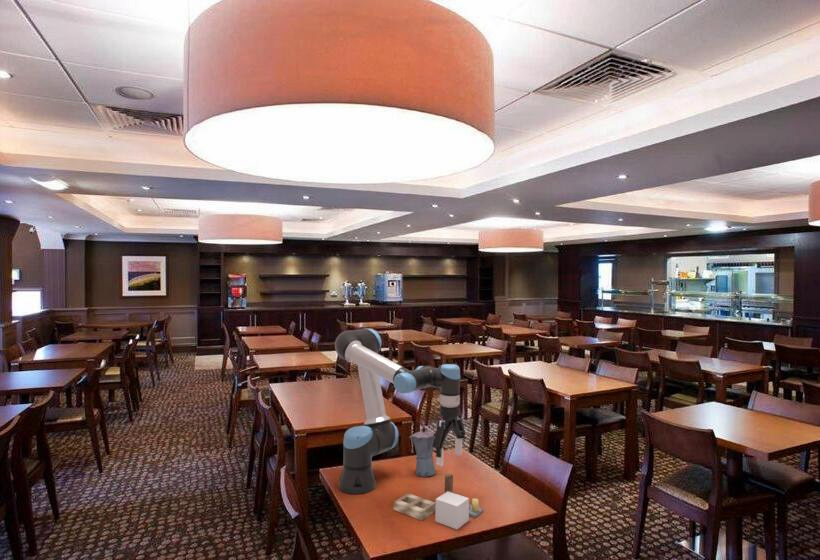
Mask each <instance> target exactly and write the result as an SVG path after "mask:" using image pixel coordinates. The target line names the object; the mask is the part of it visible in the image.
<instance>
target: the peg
mask: <svg viewBox="0 0 820 560" xmlns="http://www.w3.org/2000/svg"><path fill="white" fill-rule="evenodd" d="M447 491H449V492H452V493H454V475H453V474H451V473H446V474H445V475H444V493H446V492H447Z"/></svg>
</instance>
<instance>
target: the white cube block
mask: <svg viewBox="0 0 820 560" xmlns="http://www.w3.org/2000/svg"><path fill="white" fill-rule="evenodd" d="M435 503H436V512H435V521H434V522H436V523H438V524H441V525H445V526H447V527H449V528H452V529H454V530H459V529H460V528H461V527H462V526H464V525H465V524H466V523H467V522H469V521H470V519H469V518H470V516H469V504H470V497H467V496H464V495H461V494H457V493H455V492H453V493H452V492H449V491H447V492H446V493H445V492H444V493H442V494H441V495H439V496H438V497H437V498H435Z"/></svg>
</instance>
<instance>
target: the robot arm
mask: <svg viewBox="0 0 820 560" xmlns="http://www.w3.org/2000/svg"><path fill="white" fill-rule="evenodd" d="M382 343H383V342H382V338H381V336H380V334H379V333H378V332H377V331H376V330H375V329H372V328H359V329H352V330H350V329H349V330H345V331H342V332H341V333H340V334H338V336H337V337H336V338H335V342H334V348H335V351H336V353H337V355H338V356H339V357H340V358H342V359H343V360H345V362H348V363H355V364H356V365H357V370H358V376H359V381H360V389H361V393H362V399H363V405H364V409H365V417H366V420H365V421H364V423H363V425H359V426H357V425H356V426H353V427H350V428H348V429H346V431H345V433H344V434H343V435H344V436H343V443H342V444H343V452H342V453H343V455H342V456H343V464H342V465H343V467H342V471H341V474H340V478H339V480H338V489H339V491H341V492H343V493H346V494H351V495H361V494H366V493H369V492H371V491H373V490H375V488H376V477H375V476H374V472H373V467H372V465H373V464H372V459H373V457H374V456H377V455H379V454H382V453H385V452H389V451H390V450H392V449H393V448H395V447H396V445H397V443H398V442H399V430H398V427H397V426H396V425H395V423H394V422H393V421H391V420H392V419H391V417H390V416H389V415H387V414H386V407H385V402H384V396H383V390H382V386H381V380H380V378H382V379H384V380H386V381H388V382H389V383H392V384H393V387H394V389H395V390H396V392H397V393H399V394H409V393H412V392H416V391H418V390H422V389H426V388H431V387H432V388H435V389H439V390H440V391H439V392H440V394H439V395H440V396H439V397H440V399H439V403H440V408H439V409H440V410H439V411H440V413H439V414H440V416H441V417H442V420H437V424H436V425H437V427H436V430H435V432H436V434H435V437H434V441H433V445H432V447H433V449H434V448H435V451H436V453H435V454H436V455H435V461H436V462H435V463H436V466H440V467H443V466H444V448H443V446H444V444H445V441H446V438H447V436H448V433H450V432H451V430H452V431H453V433H454V435H455V436H456V437H455V438H454V439H455V440H454V443H455V444H454V454H455V455H456V456H460V457H461V456H463V440H464V439H465V438H466V430H465V427H464V424H463V423H464V422H463V420H462V419H463V418H462V414H461V410H460V407H461V406H460V403H461V402H460V401H461V397H460V396H461V395H460V394H461V392H460V391H461V390H460V388H461V386H460V385H461V371H460V367H459V365H458V364H450V363H446V364H445V363H444V364H442V365H440V368H438V367H432V366H427V365H425V366H424V365H419V366H417V367H416V368H415V369H414V370H411V369H410V370H409V369H408V368H405V367H404V366H402V365H401V364H398V363H396V362H395V361H392V360H390V359H389V358H386V357H385V356H383V355H381V354H379V352H380V350H381V348H382Z"/></svg>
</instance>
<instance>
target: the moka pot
mask: <svg viewBox="0 0 820 560" xmlns="http://www.w3.org/2000/svg"><path fill="white" fill-rule="evenodd" d="M435 434H436V431H432V432H431V431H426V428H424V427H423V428H421V431H417V432H414V434H411V435H410V436H409V439H410V440H411V442H412V443H413V445H414V448H415V449H414V450H415V452H416V457H415V460H416V463H415V464H416V466H415V467H416V468H415V474H416V475H417V476H419V477H423V478H428V477H431V476H434V475H436V467H435V462H434V455H433V453H434V454H436V450H434V447H432V445H433V441H434V438H435ZM433 451H434V452H433Z"/></svg>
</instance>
